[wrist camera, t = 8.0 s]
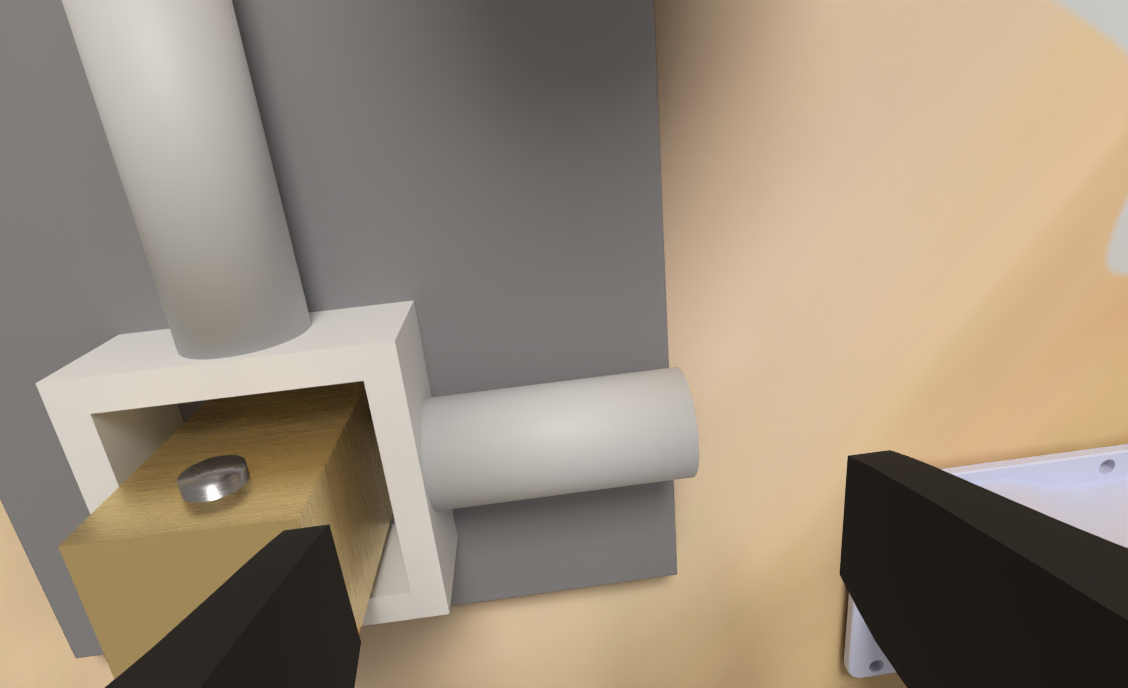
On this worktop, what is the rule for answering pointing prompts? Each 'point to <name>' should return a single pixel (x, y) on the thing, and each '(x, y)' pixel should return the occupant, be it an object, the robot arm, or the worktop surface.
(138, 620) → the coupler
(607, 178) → the shaft board
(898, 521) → the robot arm
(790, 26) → the worktop surface
